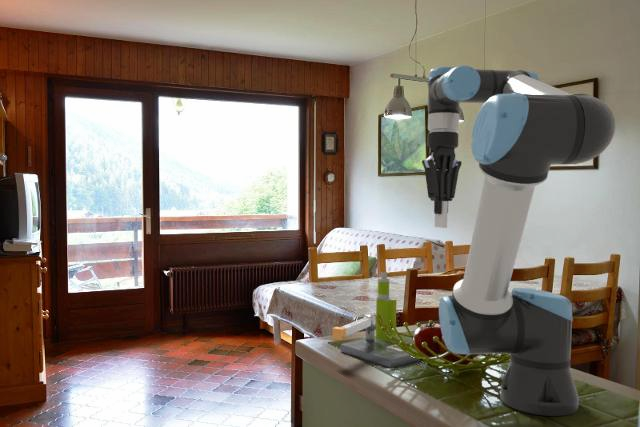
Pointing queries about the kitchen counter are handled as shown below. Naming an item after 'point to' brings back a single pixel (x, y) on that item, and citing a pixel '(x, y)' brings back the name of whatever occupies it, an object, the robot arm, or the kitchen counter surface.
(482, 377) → the kitchen counter surface
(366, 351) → the plate
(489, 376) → the kitchen counter surface
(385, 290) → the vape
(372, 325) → the swing arm
